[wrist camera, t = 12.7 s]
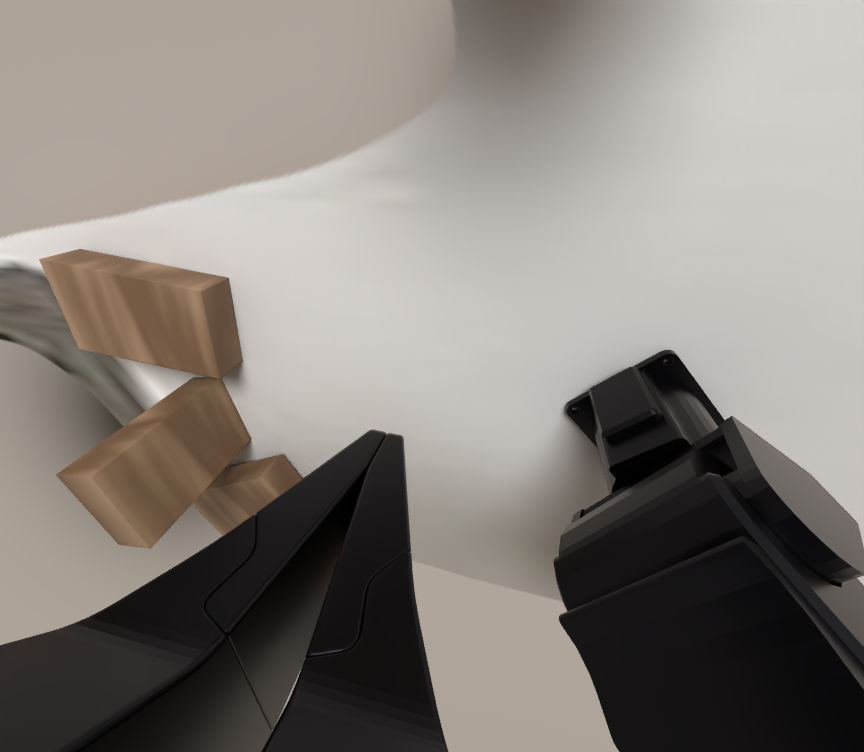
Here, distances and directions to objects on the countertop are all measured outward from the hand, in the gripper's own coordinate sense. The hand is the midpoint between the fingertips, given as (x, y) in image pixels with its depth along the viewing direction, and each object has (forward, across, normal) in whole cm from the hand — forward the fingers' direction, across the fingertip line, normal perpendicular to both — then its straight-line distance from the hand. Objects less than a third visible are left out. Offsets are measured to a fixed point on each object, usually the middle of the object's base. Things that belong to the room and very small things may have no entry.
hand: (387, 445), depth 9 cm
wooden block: (+12, +14, +5) cm, 19 cm away
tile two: (+12, +11, +19) cm, 25 cm away
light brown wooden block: (+13, +17, +13) cm, 25 cm away
